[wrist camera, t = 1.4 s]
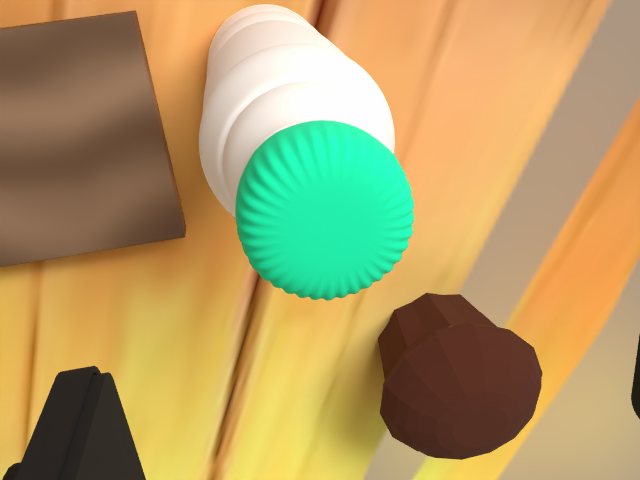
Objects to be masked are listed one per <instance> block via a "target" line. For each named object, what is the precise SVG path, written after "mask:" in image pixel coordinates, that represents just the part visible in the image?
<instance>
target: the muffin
mask: <svg viewBox="0 0 640 480" xmlns="http://www.w3.org/2000/svg"><path fill="white" fill-rule="evenodd" d="M378 340H379V346H380V352H381V358H382V364H383V371H384V378H385V382H384V384H383V392H382V401H381V409H380V414H381V416H382V418H383V420H384V422H385V424H386V426H387V427H388V429H389V431H390V433H391V435H392V437H393V438H395V439H397V440H399V441H400V442H403V443H404V444H406V445H408V446H409V447H411V448H413V449H414V450H416V451H420V452H422V453H424V454H425V455H427V456H431V457H435V458H447V459H461V460H462V459H466V458H470V457H474V456H478V455H482V454H486V453H490V452H492V451H493V450H495V449H497V448H498V447H500V446H502V445H503V444H505V443H507V442H509V441H510V440H512V439H514V438H515V437H516V436H517V435H518V433H519V432H520V431H521V430H522V429H523V428H524V426H525V425H526V424H527V423H528V422H529V421H530V419H531V418H532V416H533V414H534V411H535V408H536V404H537V401H538V397H539V393H540V390H541V377H542V371H541V368H540V365H539V362H538V359H537V356H536V353H535V350H534V347H532V346H531V345H530V344H528V343H527V342H526V341H524V340H523V339H521V338H520V337H519V336H517V335H516V334H515V333H513V332H512V331H511V330H508V329H504V328H499V327H497V326H496V325H494V324H493V323H492V322H491V321H490V320H489V319H488V318H486V317H485V316H484V315H483V314H482V313H481V312H479V311H478V310H477V309H476V308H475V307H474V306H472V305H471V304H470V303H469V302H468V301H467V300H466V299H465V298H464V297H462V296H461V295H460V294H459V295H438V294H431V293H425V294H424V295H422V296H421V297H419V298H418V299H416V300H414V301H413V302H411V303H409V304H407V305H405V306H402V307H400V308H398V309H396V310H394V312H393V314H392V317H391V319H390V321H389V323H388V325H387V326H386V328H385V329H384V331H383V332H382V333H381V335H380V336H379V338H378Z"/></svg>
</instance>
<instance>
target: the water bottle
mask: <svg viewBox="0 0 640 480" xmlns="http://www.w3.org/2000/svg"><path fill="white" fill-rule="evenodd" d="M394 147H395V134H394V125H393V120H392V116H391V112H390V109H389V107H388V104H387V102H386V99H385V97H384V95H383V94H382V92H381V90H380V88H379V87H378V85H377V84H376V83H375V81H374V80H373V79H372V78H371V76H370V75H369V74H368V73H367V72H366V71H365V70H364V69H363V68H361V67H360V66H359V65H358V64H357V63H355V62H354V61H353V60H351V59H350V58H348V57H346V56H345V55H344V54H343V53H342V52H341V51H340V50H339V49H338V48H337V47H336V46H335V45H334V44H332V43H331V42H330V41H329V40H327V39H326V38H325V37H323V36H322V35H321V34H320V33H319V32H318V31H317V30H316V29H315V28H313V27H312V26H311V25H310V24H309V23H308V22H307V21H306V20H305V19H303V18H302V17H301V16H300V15H298V14H297V13H295V12H293V11H291V10H289V9H287V8H284V7H281V6H277V5H269V4H261V5H254V6H250V7H246V8H244V9H242V10H240V11H238V12H236V13H234V14H233V15H231V16H230V17H229V18H228V19H227V20H226V21H225V22H224V23H223V24H222V25H221V26H220V27H219V29H218V30H217V32H216V34H215V35H214V37H213V40H212V42H211V45H210V49H209V53H208V62H207V74H206V85H205V91H204V99H203V115H202V119H201V123H200V130H199V154H200V160H201V165H202V169H203V172H204V175H205V178H206V180H207V182H208V185H209V186H210V188H211V190H212V192H213V193H214V195H215V197H216V198H217V199H218V201H219V202H220V203H221V205H222V206H223V207H224V208H225V209H226V210H227V211H228V212H229V213H230V214H231V215H232V216H233V217H235V218H236V223H237V230H238V235H239V239H240V241H241V243H242V246H243V250H244V252H245V254H246V255H247V257H248V258H249V262H250V264H251V266H252V267H253V268H254V269H255V270H257V271H258V273H259V274H260V276H261V277H262V278H263V279H264V280H267V281H270V282H271V283H272V285H273V286H274V287H277V288H282V289H283V290H284V291H285V292H286V293H288V294H292V293H295V294H296V295H297V296H298V297H300V298H304V297H310V298H311V299H313V300H317V299H320V298H323V299H325V300H332V299H333V298H335V297H339V298H343V297H345V296H346V295H348V294H356V293H358V292H359V291H360V290H361V289H363V288H369V287H370V286H371V284H372V283H373V282H375V281H379V280H381V279H382V277H383V275H384V274H385V273H388V272H390V271H391V270H392V269H393V265H394V264H395V263H396V262H398V261H399V260H400V259H401V257H402V252H403V251H404V250H406V248H407V247H408V239H409V238H410V237H411V235H412V233H413V230H412V223H413V221H414V214H413V207H414V202H413V198H412V196H411V188H410V185H409V183H408V181H407V179H406V175H405V173H404V171H403V169H402V167H401V166H400V164H399V163H398V160H397V158H396V157H395V155H394Z"/></svg>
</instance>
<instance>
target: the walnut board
mask: <svg viewBox="0 0 640 480" xmlns="http://www.w3.org/2000/svg"><path fill="white" fill-rule="evenodd" d="M185 232H186V225H185V221H184V217H183V212H182V208H181V204H180V199H179V195H178V191H177V186H176V182H175V178H174V173H173V169H172V165H171V160H170V156H169V152H168V147H167V143H166V139H165V134H164V130H163V126H162V121H161V117H160V113H159V108H158V104H157V100H156V95H155V91H154V87H153V82H152V78H151V74H150V69H149V65H148V61H147V56H146V52H145V48H144V43H143V39H142V35H141V30H140V26H139V22H138V17H137V13H136V11H129V12H121V13H113V14H106V15H98V16H90V17H83V18H75V19H67V20H60V21H52V22H44V23H37V24H29V25H21V26H14V27H6V28H0V267H3V266H10V265H16V264H22V263H28V262H34V261H40V260H47V259H53V258H59V257H65V256H71V255H78V254H84V253H90V252H96V251H102V250H108V249H115V248H121V247H127V246H133V245H139V244H145V243H152V242H158V241H164V240H170V239H176V238H182V237H185Z"/></svg>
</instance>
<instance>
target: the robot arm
mask: <svg viewBox="0 0 640 480" xmlns="http://www.w3.org/2000/svg"><path fill="white" fill-rule="evenodd" d="M631 400H632V405H633V408H634V411H635V412H636V415H637V416H638V417H639V419H640V336H639V343H638V351H637V358H636V366H635V373H634V380H633V387H632V395H631ZM3 480H146V478H145V475H144V472H143V469H142V466H141V463H140V460H139V457H138V454H137V451H136V447H135V444H134V441H133V438H132V435H131V432H130V429H129V426H128V423H127V420H126V417H125V413H124V410H123V407H122V404H121V401H120V398H119V395H118V392H117V389H116V386H115V383H114V380H113V377H112V375H111V374H110V373H102V374H101V373H100V371H99V369H98V368H97V367H96V366H91V367H85V368H80V369H74V370H68V371H62V372H60V373H58V375H57V376H56V378H55V381H54V383H53V385H52V388H51V390H50V393H49V395H48V398H47V400H46V403H45V405H44V408H43V410H42V413H41V415H40V418H39V420H38V422H37V425H36V427H35V430H34V432H33V435H32V437H31V440H30V442H29V445H28V447H27V450H26V452H25V454H24V457H23V459H22V462H21V463H15V464H13V465H12V466H11V467H9V469H8V470H7V472H6V474H5V475H4V477H3Z"/></svg>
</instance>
